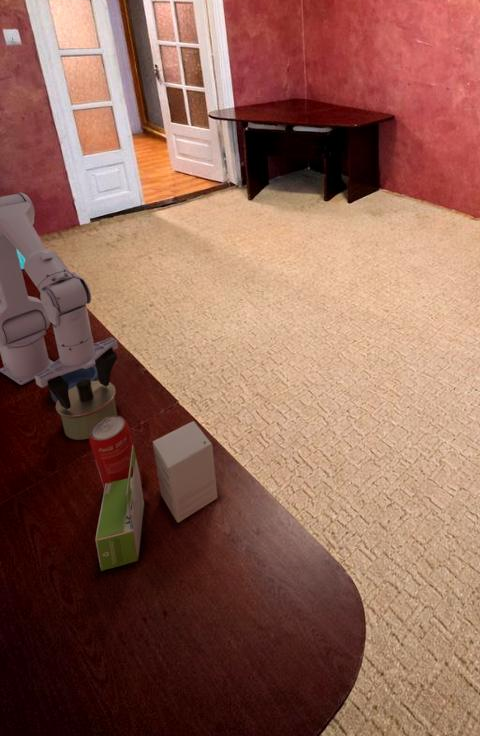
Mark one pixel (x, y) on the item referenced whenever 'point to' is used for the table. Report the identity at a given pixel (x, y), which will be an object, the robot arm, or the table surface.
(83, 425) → the pot
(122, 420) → the beverage can
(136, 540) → the ink box
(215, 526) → the table surface
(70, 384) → the pan
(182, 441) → the white packaging box
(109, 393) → the lid
